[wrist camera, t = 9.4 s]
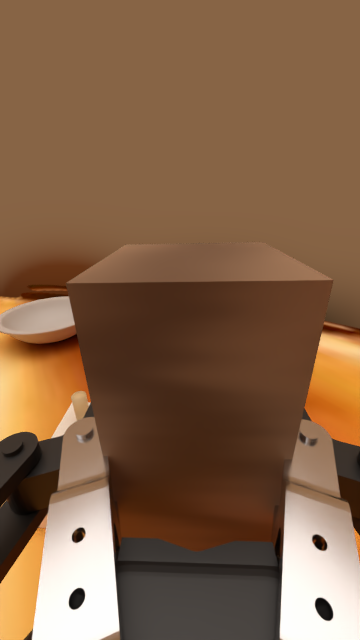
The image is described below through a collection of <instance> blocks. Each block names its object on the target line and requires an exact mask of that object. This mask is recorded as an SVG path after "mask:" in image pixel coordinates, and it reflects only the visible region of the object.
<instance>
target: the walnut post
mask: <svg viewBox="0 0 360 640" xmlns="http://www.w3.org/2000/svg"><path fill="white" fill-rule="evenodd" d="M332 284H333V280H332V279H330V278H329V277H327V276H325V275H323V274H321V273H319V272H317V271H316V270H314V269H312V268H310V267H308V266H307V265H305V264H303V263H301V262H299V261H297V260H295V259H294V258H292V257H290V256H288V255H286V254H284V253H282V252H281V251H279V250H277V249H275V248H273V247H271V246H269V245H268V244H266V243H264V242H250V243H249V242H248V243H198V244H197V243H196V244H194V243H193V244H145V245H144V244H143V245H142V244H139V245H125V246H123V247H122V248H120V249H118V250H117V251H116V252H114V253H112V254H111V255H109V256H108V257H106V258H105V259H103V260H101V261H100V262H98V263H97V264H95V265H94V266H92V267H90V268H89V269H87V270H86V271H84V272H83V273H81V274H80V275H78V276H77V277H75V278H74V279H72V280H71V281H69V282H68V283H66V286H67V290H68V295H69V300H70V304H71V309H72V314H73V319H74V323H75V328H76V333H77V337H78V342H79V347H80V352H81V356H82V361H83V366H84V370H85V375H86V380H87V385H88V389H89V394H90V399H91V403H92V408H93V413H94V418H95V422H96V427H97V432H98V436H99V441H100V446H101V451H102V455H103V456H108V459H109V464H110V470H111V482H112V491H113V498H114V501H117V504H118V509H119V517H120V526H121V535H122V537H126V538H158V539H161V540H164V541H167V542H169V543H172V544H175V545H178V546H180V547H183V548H186V549H189V550H191V551H195V552H199V551H203V550H206V549H209V548H213V547H216V546H219V545H223V544H226V543H230V542H233V541H254V542H271V533H272V521H273V512H274V507H275V505H279V503H280V495H281V483H282V469H283V465H284V460H285V459H293V455H294V451H295V446H296V442H297V438H298V433H299V429H300V424H301V420H302V416H303V411H304V407H305V403H306V398H307V394H308V389H309V385H310V381H311V376H312V372H313V368H314V363H315V359H316V354H317V350H318V346H319V341H320V337H321V333H322V328H323V324H324V319H325V315H326V310H327V306H328V302H329V298H330V293H331V289H332Z"/></svg>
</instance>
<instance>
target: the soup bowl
mask: <svg viewBox="0 0 360 640" xmlns="http://www.w3.org/2000/svg"><path fill="white" fill-rule="evenodd" d="M0 332H1V333H4V334H9V335H10V336H12V337H14V338H16V339H18V340H20V341H23V342H28V343H35V344H43V343H52V342H57V341H61V340H64V339H67V338H69V337H71V336H74V335H75V334H77V333H76V328H75V323H74V319H73V314H72V309H71V304H70V300H69V297H54V298H47V299H41V300H37V301H32V302H29V303H25V304H22V305H19V306H16V307H14V308H11V309H9V310H7V311H5V312H4V313H2V314H1V315H0Z"/></svg>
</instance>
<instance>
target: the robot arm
mask: <svg viewBox="0 0 360 640" xmlns="http://www.w3.org/2000/svg"><path fill="white" fill-rule="evenodd" d="M5 501H6V502H5ZM4 502H5V503H4ZM3 503H4V504H3ZM2 504H3V505H2ZM1 505H2V506H1ZM47 514H48V518H47V526H46V533H45V541H44V549H43V557H42V565H41V573H40V580H39V588H38V596H37V604H36V612H35V619H34V627H33V630H32V631H31V632H30V633H29V634H28V635H27V637H26V638H25V639H24V640H360V563H359V557H358V551H357V545H356V539H355V534H354V528H355V530H356V531H357V532H358V534H359V535H360V447H359V446H355V445H351V444H348V443H344V442H340V441H337V440H334V439H332V438H331V436H330V435H329V433H328V432H327V431H326V430H325V429H324V428H323V427H321V426H320V425H318V424H316V423H314V422H312V421H311V419H310V417H309V416H308V414H307V412H306V410H305V408H304V411H303V416H302V420H301V424H300V429H299V433H298V438H297V442H296V446H295V451H294V455H293V459H285V460H284V465H283V469H282V483H281V495H280V503H279V505H275V507H274V512H273V521H272V533H271V542H254V541H233V542H230V543H226V544H223V545H219V546H216V547H213V548H209V549H206V550H203V551H199V552H195V551H191V550H189V549H186V548H183V547H180V546H178V545H175V544H172V543H169V542H167V541H164V540H161V539H158V538H126V537H122V535H121V526H120V517H119V509H118V504H117V501H114V498H113V491H112V482H111V470H110V464H109V459H108V456H103V455H102V451H101V446H100V441H99V436H98V432H97V427H96V422H95V418H94V413H93V408H92V403H90V405H89V407H88V409H87V411H86V413H85V415H84V417H83V419H80V420H78V421H76V422H74V423H73V424H71V425H70V426H69V427H68V428H67V430H66V431H65V433H64V435H62V436H59V437H55V438H51V439H47V440H43V441H39V442H38V439H37V437H36V435H35V434H33V433H30V432H20V433H16V434H13V435H11V436H9V437H7V438H5V439H4V440H2V441H1V442H0V583H1V582H2V580H3V579H4V577H5V576H6V574H7V573H8V571H9V570H10V568H11V567H12V565H13V564H14V562H15V561H16V559H17V558H18V557H19V555H20V554H21V552H22V551H23V549H24V548H25V546H26V545H27V543H28V542H29V540H30V539H31V537H32V536H33V534H34V533H35V531H36V530H37V528H38V527H39V526H40V524H41V523H42V521H43V520H44V518H45V517H46V515H47ZM353 527H354V528H353Z"/></svg>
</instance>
